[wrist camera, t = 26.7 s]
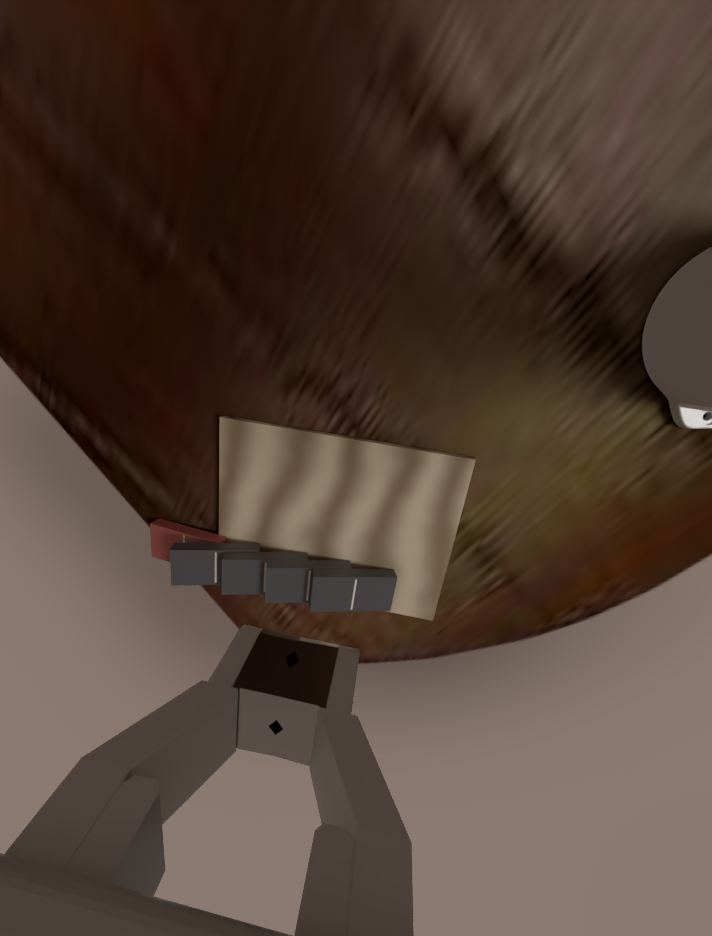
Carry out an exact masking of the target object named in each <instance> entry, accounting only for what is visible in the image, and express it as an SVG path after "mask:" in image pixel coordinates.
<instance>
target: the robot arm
mask: <svg viewBox="0 0 712 936" xmlns="http://www.w3.org/2000/svg"><path fill="white" fill-rule="evenodd" d="M642 354H643V360H644V364H645V368H646V370H647V373H648V375H649V376H650V378H651V380H652V381H653V383H654V384H655V385H656V386H657V387H658V388H659V390H660V391H661V392H662V393H663V394H664V395H665V396H666V398H667V399H668V401H669V405H670V410H671V414H672V417H673V420H674V422H675V423H676V425H678V426H679V427H682V428H691V429H702V428H712V247H710V248H708V249H706V250H705V251H703V252H701V253H700V254H698V255H697V256H695V257H694V258H693V259H691V260H690V261H689V262H688V263H686V264H685V265H684V266H683V267H682V268H681V269H680V270H679V271H677V272H676V273H675V275H674V276H673V277H672V278H671V279H670V280H669V281H668V282H667V284H666V285H665V286H664V288H663V289H662V290H661V292H660V293H659V295H658V296H657V298H656V300H655V302H654V303H653V305H652V307H651V310H650V312H649V314H648V317H647V320H646V323H645V327H644V331H643V338H642ZM706 412H707V415H706V417H705V418H704V419H703V415H704V414H705V413H706ZM358 661H359V649H355V648H350V647H345V646H339V645H336V644H331V643H326V642H321V641H316V640H311V639H306V638H299V637H295V636H291V635H287V634H283V633H279V632H275V631H270V630H266V629H261V628H257V627H252V626H248V625H243V626H242V627H241V628H240V629H239V631H238V632H237V634H236V636H235V637H234V639H233V641H232V642H231V644H230V646H229V647H228V649H227V651H226V652H225V654H224V656H223V657H222V659H221V661H220V662H219V664H218V666H217V667H216V669H215V671H214V673H213V674H212V676H211V678H210V679H209V681H208V682H207V681H200V682H199V683H197V684H196V685H194V686H193V687H191V688H189V689H188V690H186V691H185V692H183V693H182V694H180V695H178V696H177V697H175V698H174V699H172V700H171V701H169V702H168V703H166V704H165V705H163V706H161V707H160V708H158V709H157V710H155V711H154V712H152V713H150V714H149V715H147V716H146V717H144V718H143V719H141V720H140V721H138V722H136V723H135V724H133V725H132V726H130V727H129V728H127V729H126V730H124V731H122V732H121V733H119V734H118V735H116V736H115V737H113V738H112V739H110V740H108V741H107V742H106V743H104V744H102V745H101V746H99V747H98V748H96V749H95V750H93V751H91V752H90V753H88V754H87V755H85V756H84V757H82V758H81V759H80V760H79V762H78V763H77V764H76V765H75V767H74V768H73V769H72V770H71V772H70V773H69V774H68V775H67V777H66V778H65V779H64V780H63V781H62V783H61V784H60V785H59V787H58V788H57V789H56V790H55V792H54V793H53V794H52V795H51V797H50V798H49V799H48V800H47V801H46V803H45V804H44V805H43V806H42V808H41V809H40V810H39V811H38V813H37V814H36V815H35V816H34V818H33V819H32V820H31V822H30V823H29V824H28V825H27V827H26V828H25V829H24V830H23V831H22V833H21V834H20V835H19V837H18V838H17V839H16V840H15V841H14V843H13V844H12V845H11V846H10V848H9V849H8V850H7V852H6V853H5V854H1V853H0V936H292V935H288V934H285V933H281V932H278V931H274V930H270V929H267V928H263V927H260V926H256V925H252V924H249V923H246V922H242V921H239V920H235V919H231V918H228V917H224V916H221V915H217V914H213V913H210V912H207V911H203V910H200V909H196V908H192V907H189V906H185V905H182V904H178V903H175V902H171V901H167V900H164V899H160V898H157V897H153V896H154V894H155V892H156V890H157V887H158V885H159V883H160V881H161V878H162V876H163V874H164V872H165V860H164V846H163V832H162V824H163V823H164V822H165V821H166V820H167V819H168V818H169V817H170V816H171V815H172V814H173V813H174V812H175V811H176V810H177V809H178V808H179V807H180V806H181V805H182V804H183V803H184V802H185V801H186V800H187V799H188V798H189V797H190V796H191V795H192V794H193V793H194V792H195V791H196V790H197V789H198V788H199V787H200V786H201V785H202V784H203V783H204V782H205V781H206V780H207V779H208V778H209V777H210V776H211V775H212V774H213V773H214V772H215V771H216V770H217V769H218V768H219V767H220V766H221V765H222V764H223V763H224V762H225V761H226V760H227V759H228V758H229V757H230V756H231V755H232V754H233V753H234V752H235V751H236V748H238V749H243V750H248V751H253V752H258V753H262V754H268V755H274V756H276V757H280V758H283V759H287V760H290V761H294V762H298V763H301V764H305V765H308V766H310V772H311V777H312V781H313V786H314V791H315V795H316V800H317V804H318V809H319V813H320V818H321V822H322V825H321V826H320V827H318V828H317V829H316V830H315V833H314V838H313V843H312V849H311V853H310V859H309V864H308V869H307V874H306V879H305V884H304V890H303V895H302V900H301V905H300V910H299V915H298V920H297V925H296V931H295V936H413V895H412V849H411V841H410V839H409V836H408V834H407V831H406V829H405V827H404V824H403V822H402V820H401V817H400V815H399V813H398V810H397V808H396V806H395V804H394V801H393V799H392V796H391V794H390V792H389V789H388V787H387V785H386V782H385V780H384V777H383V775H382V773H381V770H380V768H379V766H378V763H377V761H376V759H375V756H374V754H373V752H372V749H371V747H370V745H369V742H368V740H367V738H366V735H365V733H364V731H363V728H362V726H361V723H360V721H359V719H358V716H355V715H351V711H352V704H353V696H354V688H355V681H356V675H357V668H358Z"/></svg>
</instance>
